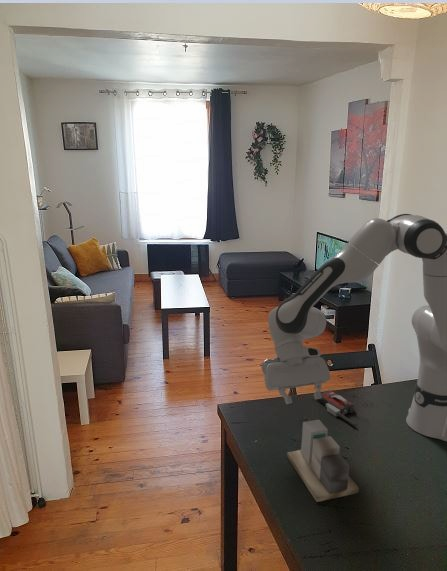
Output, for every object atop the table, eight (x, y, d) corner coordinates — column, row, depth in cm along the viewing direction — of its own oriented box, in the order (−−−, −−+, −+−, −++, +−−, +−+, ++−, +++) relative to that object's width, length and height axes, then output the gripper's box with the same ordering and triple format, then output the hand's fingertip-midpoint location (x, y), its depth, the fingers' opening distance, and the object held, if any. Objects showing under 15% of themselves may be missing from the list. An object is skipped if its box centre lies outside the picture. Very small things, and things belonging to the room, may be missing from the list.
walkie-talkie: (311, 401, 153) (353, 430, 136) (311, 390, 151) (354, 418, 135) (328, 395, 157) (371, 422, 141) (329, 384, 156) (373, 410, 139)
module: (316, 449, 123) (318, 419, 120) (325, 460, 118) (328, 429, 115) (300, 452, 121) (303, 422, 119) (309, 464, 117) (311, 432, 114)
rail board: (323, 449, 126) (326, 417, 123) (358, 492, 109) (362, 456, 106) (286, 456, 122) (288, 424, 120) (316, 502, 106) (319, 465, 103)
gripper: (262, 356, 124) (274, 403, 118) (324, 349, 130) (339, 393, 123) (257, 364, 129) (267, 408, 123) (316, 356, 135) (330, 399, 128)
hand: (304, 400), depth 123 cm, fingers open, 8 cm apart
